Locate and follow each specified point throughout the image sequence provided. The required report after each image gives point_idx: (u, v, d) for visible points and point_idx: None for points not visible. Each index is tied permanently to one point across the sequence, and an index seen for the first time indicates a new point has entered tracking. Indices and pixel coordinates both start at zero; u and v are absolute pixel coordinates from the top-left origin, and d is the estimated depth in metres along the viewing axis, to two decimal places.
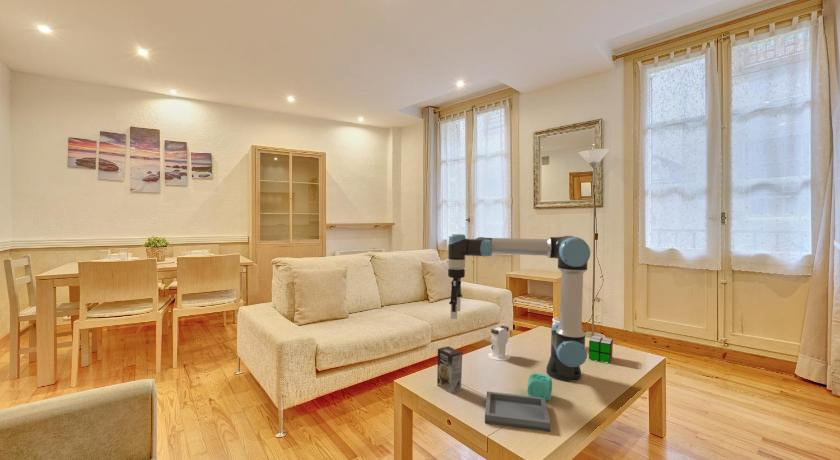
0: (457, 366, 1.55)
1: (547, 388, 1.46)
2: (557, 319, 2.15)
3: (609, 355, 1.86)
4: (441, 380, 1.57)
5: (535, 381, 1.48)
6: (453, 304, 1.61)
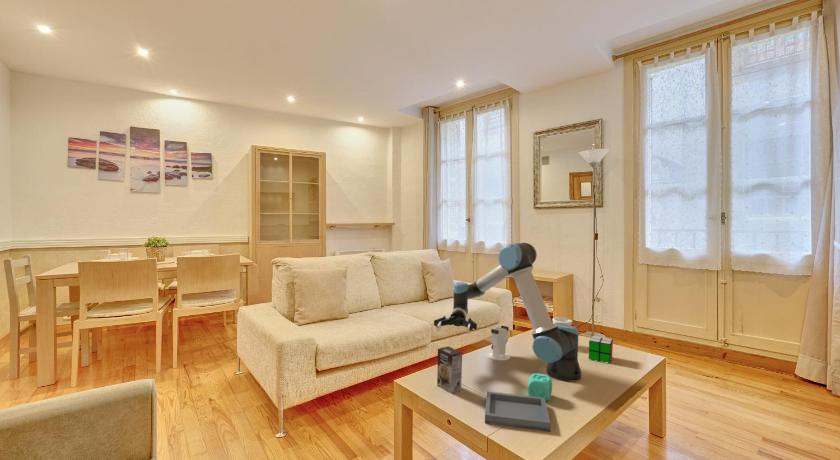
0: (457, 366, 1.55)
1: (547, 388, 1.46)
2: (557, 319, 2.15)
3: (609, 355, 1.86)
4: (441, 380, 1.57)
5: (535, 381, 1.48)
6: (436, 324, 1.76)
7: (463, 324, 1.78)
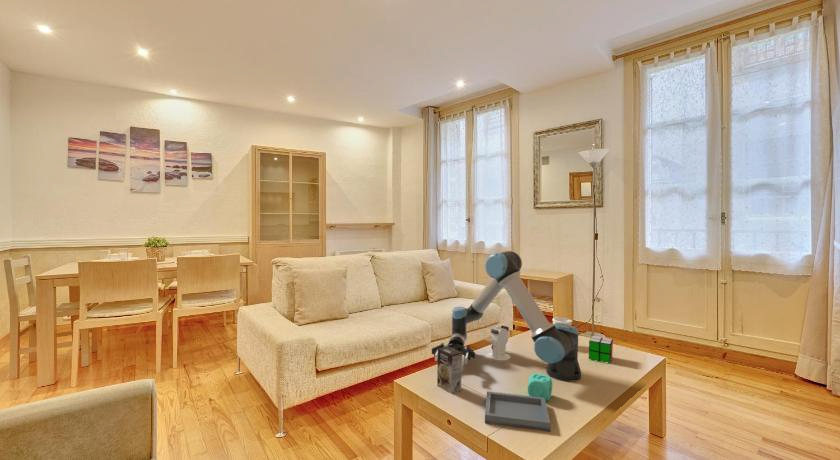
0: (457, 366, 1.55)
1: (547, 388, 1.46)
2: (557, 319, 2.15)
3: (609, 355, 1.86)
4: (441, 380, 1.57)
5: (535, 381, 1.48)
6: None
7: None
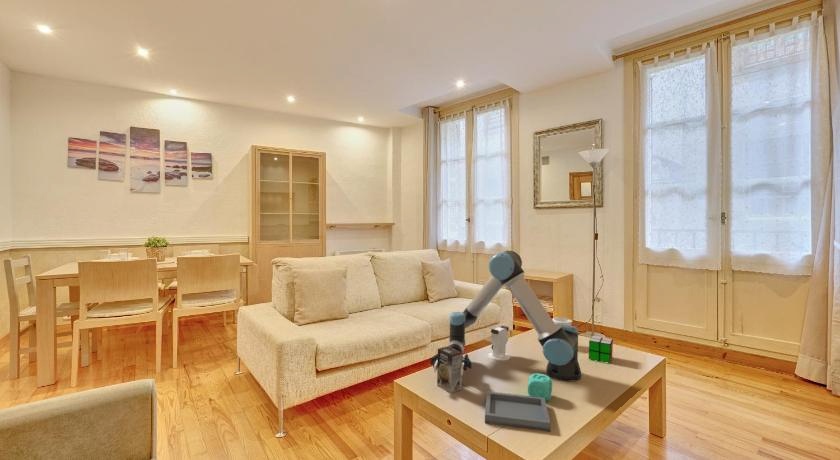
0: (457, 366, 1.55)
1: (547, 388, 1.46)
2: (557, 319, 2.15)
3: (609, 355, 1.86)
4: (441, 380, 1.57)
5: (535, 381, 1.48)
6: None
7: None
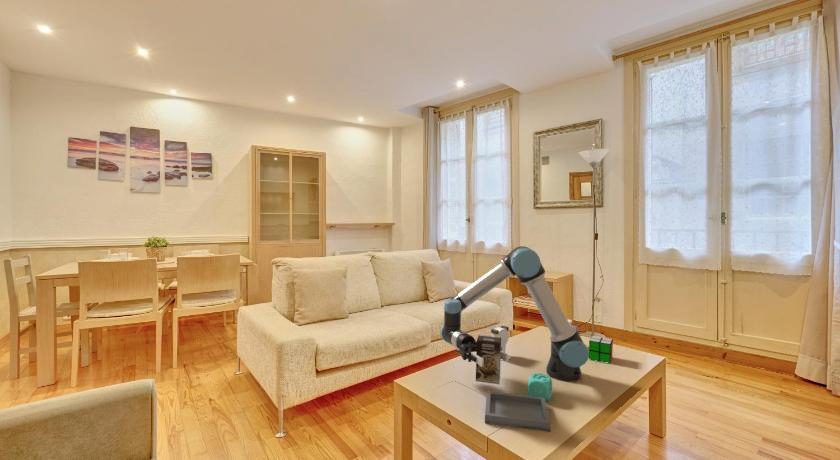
0: (500, 354, 1.42)
1: (547, 388, 1.46)
2: None
3: (609, 355, 1.86)
4: (484, 374, 1.40)
5: (535, 381, 1.48)
6: (468, 357, 1.42)
7: None
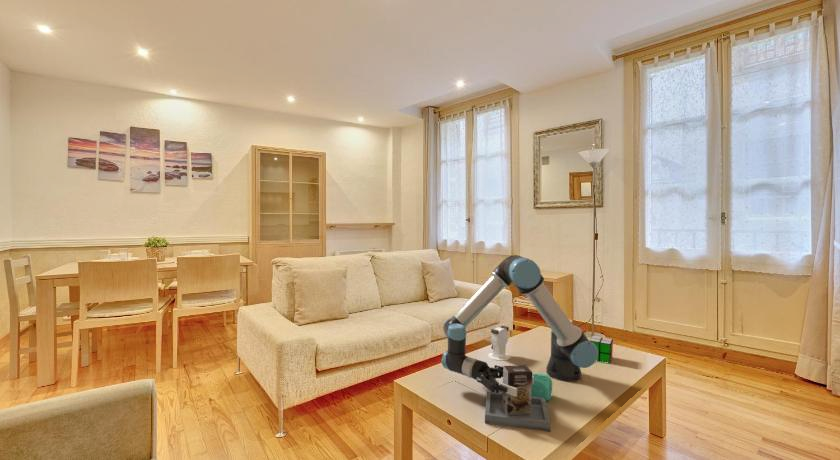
0: None
1: (547, 388, 1.46)
2: None
3: (609, 355, 1.86)
4: (516, 407, 1.35)
5: (535, 381, 1.48)
6: (497, 388, 1.34)
7: (502, 375, 1.45)
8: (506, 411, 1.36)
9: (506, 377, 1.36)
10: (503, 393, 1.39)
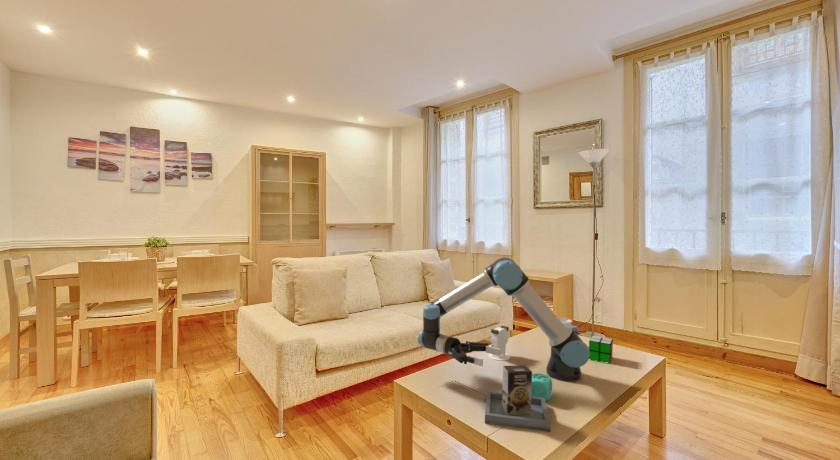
0: None
1: (547, 388, 1.46)
2: None
3: (609, 355, 1.86)
4: (516, 407, 1.35)
5: (535, 381, 1.48)
6: (465, 359, 1.46)
7: (473, 349, 1.58)
8: (506, 411, 1.36)
9: (506, 377, 1.36)
10: (503, 393, 1.39)
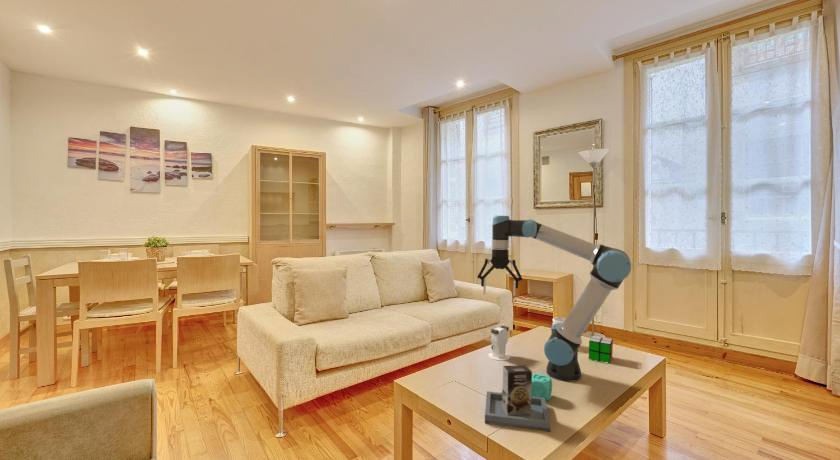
0: None
1: (547, 388, 1.46)
2: (557, 319, 2.15)
3: (609, 355, 1.86)
4: (516, 407, 1.35)
5: (535, 381, 1.48)
6: (481, 279, 1.75)
7: None
8: (506, 411, 1.36)
9: (506, 377, 1.36)
10: (503, 393, 1.39)
